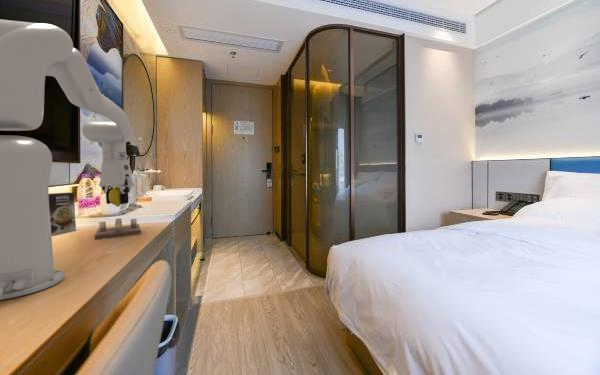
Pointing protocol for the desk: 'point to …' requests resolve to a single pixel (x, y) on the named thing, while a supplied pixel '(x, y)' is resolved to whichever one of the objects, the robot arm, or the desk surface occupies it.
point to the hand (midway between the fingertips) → (117, 203)
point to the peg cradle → (117, 229)
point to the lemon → (115, 196)
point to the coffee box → (62, 213)
